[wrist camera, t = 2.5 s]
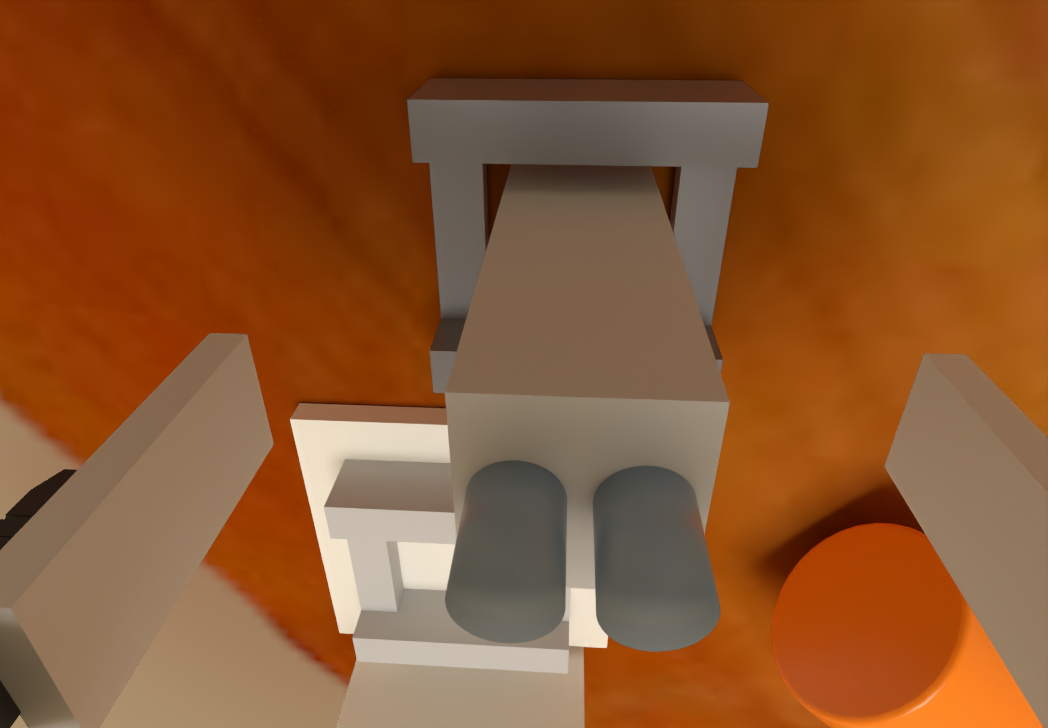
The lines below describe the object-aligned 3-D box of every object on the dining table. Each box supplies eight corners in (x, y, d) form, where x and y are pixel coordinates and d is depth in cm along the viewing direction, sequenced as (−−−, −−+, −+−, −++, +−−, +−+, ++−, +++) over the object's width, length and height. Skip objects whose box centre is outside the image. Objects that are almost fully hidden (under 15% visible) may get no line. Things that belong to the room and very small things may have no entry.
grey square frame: (430, 78, 19) (406, 99, 16) (742, 80, 18) (768, 102, 16) (449, 343, 23) (433, 392, 21) (699, 351, 23) (715, 402, 20)
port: (299, 403, 25) (110, 718, 15) (626, 414, 24) (661, 754, 14) (350, 636, 32) (246, 956, 22) (603, 650, 32) (616, 987, 21)
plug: (512, 160, 20) (416, 488, 8) (649, 162, 20) (764, 503, 8) (513, 284, 22) (440, 690, 10) (637, 288, 22) (712, 706, 10)
